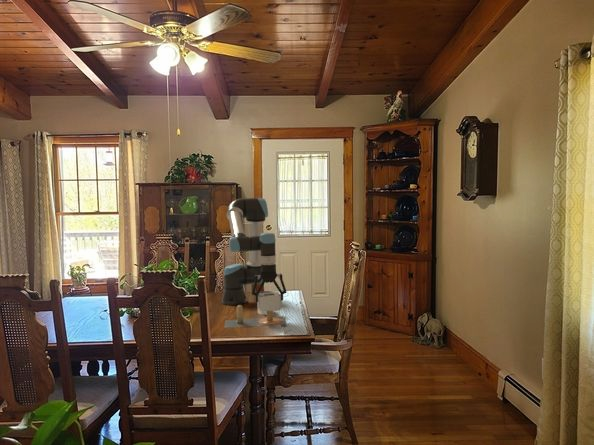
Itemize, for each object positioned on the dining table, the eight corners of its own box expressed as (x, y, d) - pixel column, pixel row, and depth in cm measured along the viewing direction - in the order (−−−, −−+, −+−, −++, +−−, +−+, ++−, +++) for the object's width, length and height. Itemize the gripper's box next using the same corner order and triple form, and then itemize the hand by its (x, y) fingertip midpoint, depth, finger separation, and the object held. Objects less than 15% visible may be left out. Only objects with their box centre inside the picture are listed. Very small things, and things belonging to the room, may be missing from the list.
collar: (280, 310, 209) (279, 296, 209) (260, 311, 208) (259, 297, 208) (278, 305, 219) (278, 292, 219) (259, 306, 218) (259, 293, 217)
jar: (276, 315, 229) (275, 293, 228) (262, 317, 225) (261, 295, 225) (269, 311, 237) (269, 290, 236) (256, 313, 233) (255, 292, 233)
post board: (224, 329, 204) (223, 309, 204) (225, 321, 218) (225, 302, 218) (286, 326, 208) (285, 306, 207) (283, 318, 222) (283, 299, 221)
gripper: (245, 265, 208) (247, 310, 208) (291, 263, 210) (292, 308, 211) (245, 263, 215) (247, 307, 216) (290, 262, 218) (291, 304, 218)
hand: (269, 307), depth 213 cm, fingers closed on collar, 10 cm apart
